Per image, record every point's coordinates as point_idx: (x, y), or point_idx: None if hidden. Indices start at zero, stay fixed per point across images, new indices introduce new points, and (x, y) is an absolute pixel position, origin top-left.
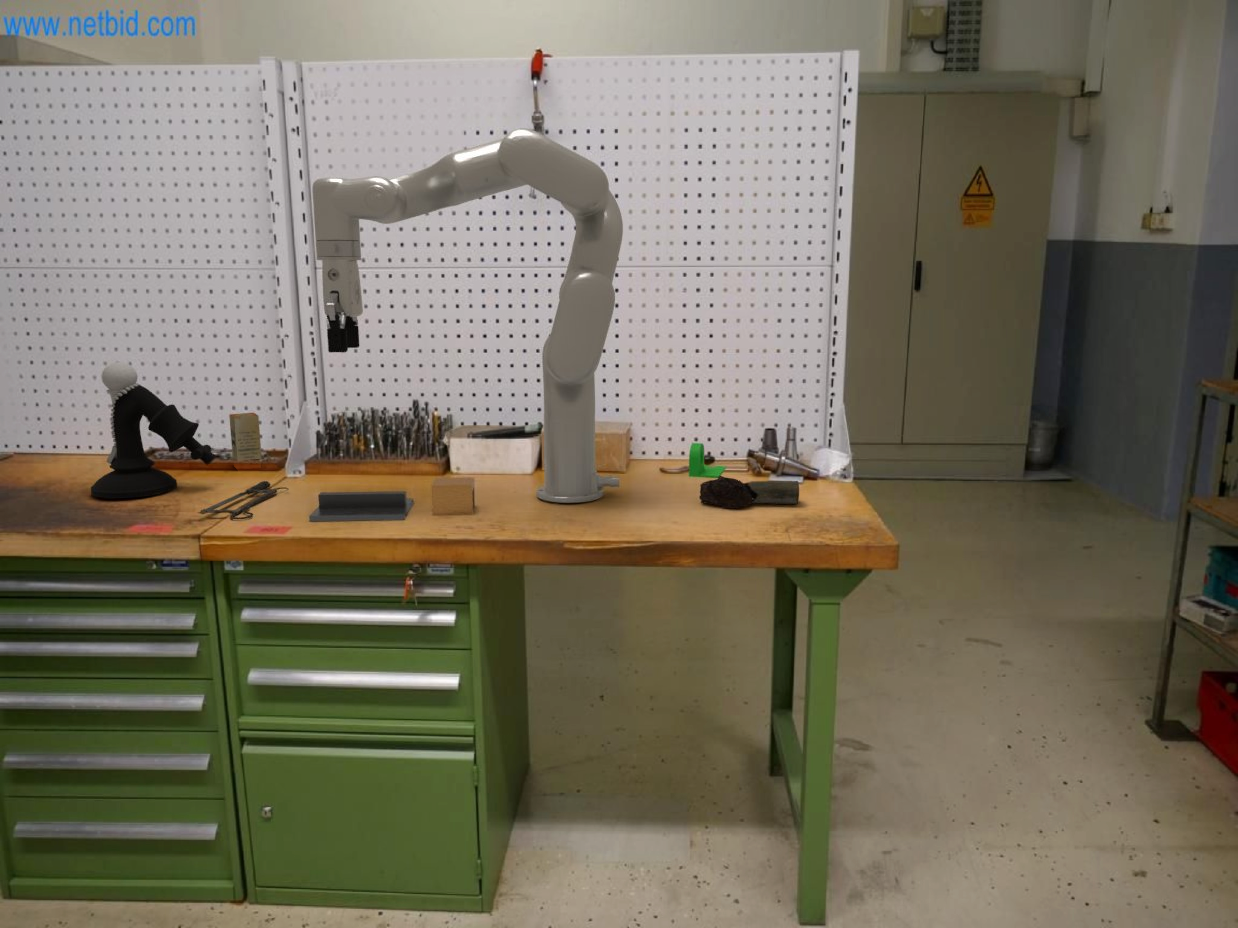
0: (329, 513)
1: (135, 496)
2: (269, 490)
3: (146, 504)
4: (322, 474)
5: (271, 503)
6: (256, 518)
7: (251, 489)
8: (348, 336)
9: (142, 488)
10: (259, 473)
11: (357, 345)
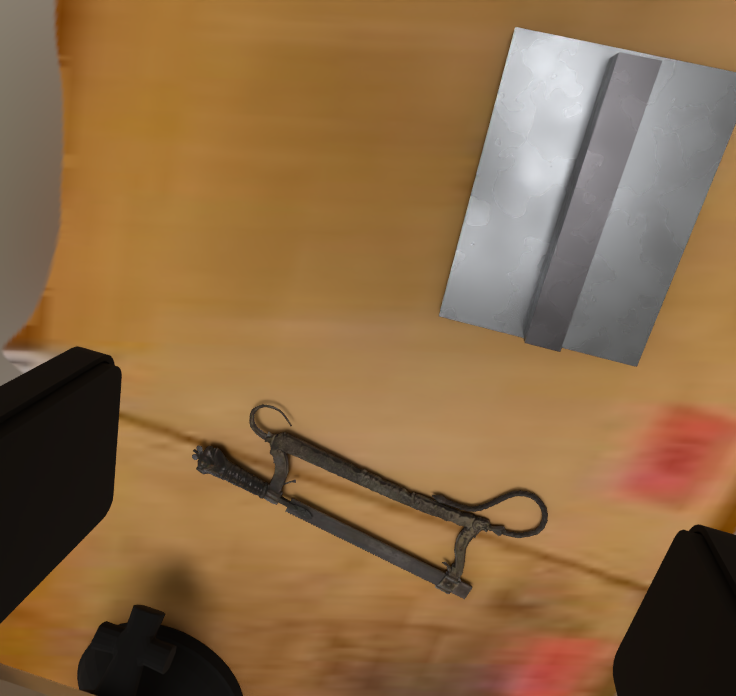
0: (632, 312)
1: (240, 691)
2: (282, 451)
3: (313, 674)
4: (42, 306)
5: (378, 443)
6: (538, 480)
7: (270, 492)
8: (37, 513)
9: (223, 692)
10: None
11: (112, 372)
